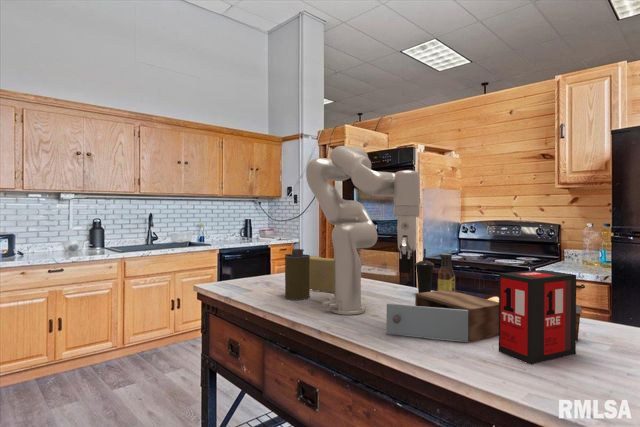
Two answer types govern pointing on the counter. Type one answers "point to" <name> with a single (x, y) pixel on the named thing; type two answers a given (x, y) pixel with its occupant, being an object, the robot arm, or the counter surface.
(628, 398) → the counter surface
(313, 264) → the cheese
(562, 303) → the cleaning product box
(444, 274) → the sauce bottle
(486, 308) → the cabinet
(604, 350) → the counter surface
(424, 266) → the drinking cup
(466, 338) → the door
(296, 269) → the canister
